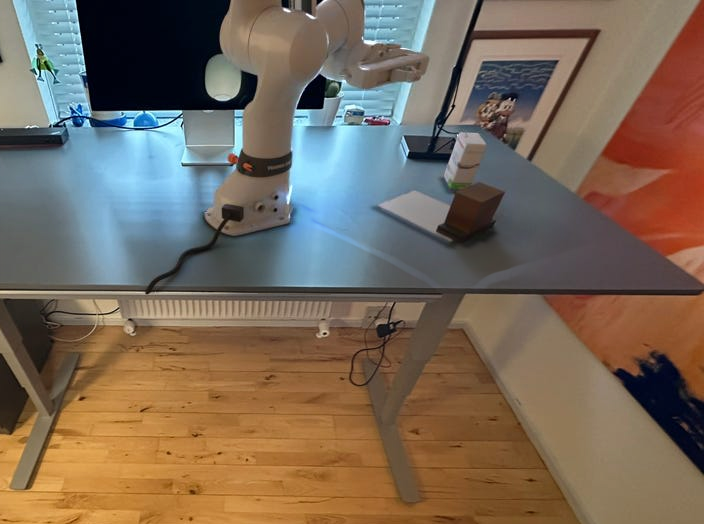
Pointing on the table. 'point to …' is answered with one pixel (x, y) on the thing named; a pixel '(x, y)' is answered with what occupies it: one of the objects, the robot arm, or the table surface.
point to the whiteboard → (419, 210)
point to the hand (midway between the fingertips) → (416, 77)
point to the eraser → (471, 212)
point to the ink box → (464, 160)
